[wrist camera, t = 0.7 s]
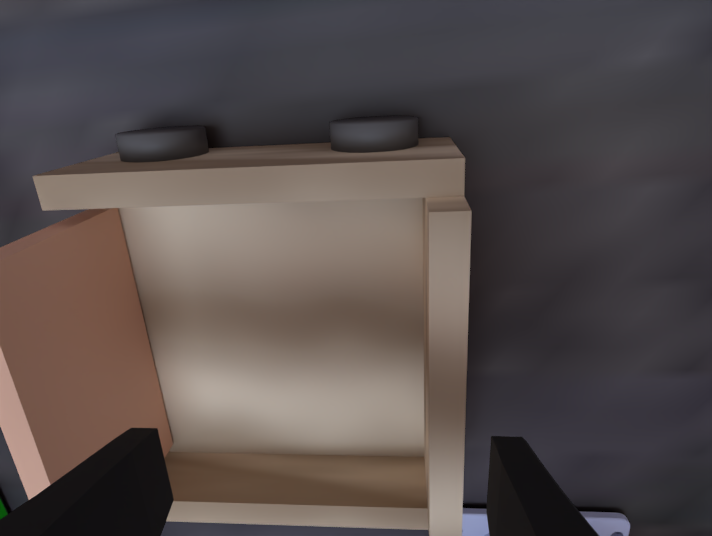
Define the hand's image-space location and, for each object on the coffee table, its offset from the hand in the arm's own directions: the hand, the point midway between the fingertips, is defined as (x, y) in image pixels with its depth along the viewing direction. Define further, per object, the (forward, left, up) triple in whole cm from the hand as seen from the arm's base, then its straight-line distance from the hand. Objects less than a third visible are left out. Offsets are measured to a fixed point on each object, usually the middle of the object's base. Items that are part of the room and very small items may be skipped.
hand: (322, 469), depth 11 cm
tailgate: (-1, +9, -7) cm, 11 cm away
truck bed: (-1, +3, -9) cm, 10 cm away
